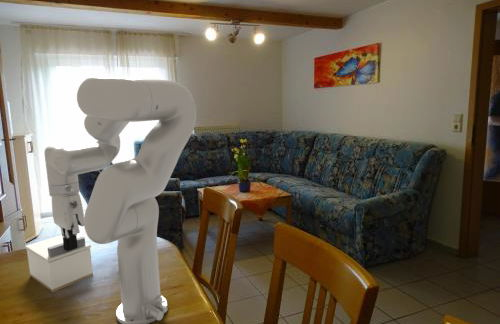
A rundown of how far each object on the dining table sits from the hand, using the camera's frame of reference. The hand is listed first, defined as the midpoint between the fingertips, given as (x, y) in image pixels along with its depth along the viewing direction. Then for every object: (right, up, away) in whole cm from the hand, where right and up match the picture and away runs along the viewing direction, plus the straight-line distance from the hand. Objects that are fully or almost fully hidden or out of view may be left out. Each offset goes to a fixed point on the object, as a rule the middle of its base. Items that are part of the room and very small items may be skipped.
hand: (71, 248), depth 99 cm
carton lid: (-7, -1, +6) cm, 9 cm away
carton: (-7, -10, +7) cm, 14 cm away
